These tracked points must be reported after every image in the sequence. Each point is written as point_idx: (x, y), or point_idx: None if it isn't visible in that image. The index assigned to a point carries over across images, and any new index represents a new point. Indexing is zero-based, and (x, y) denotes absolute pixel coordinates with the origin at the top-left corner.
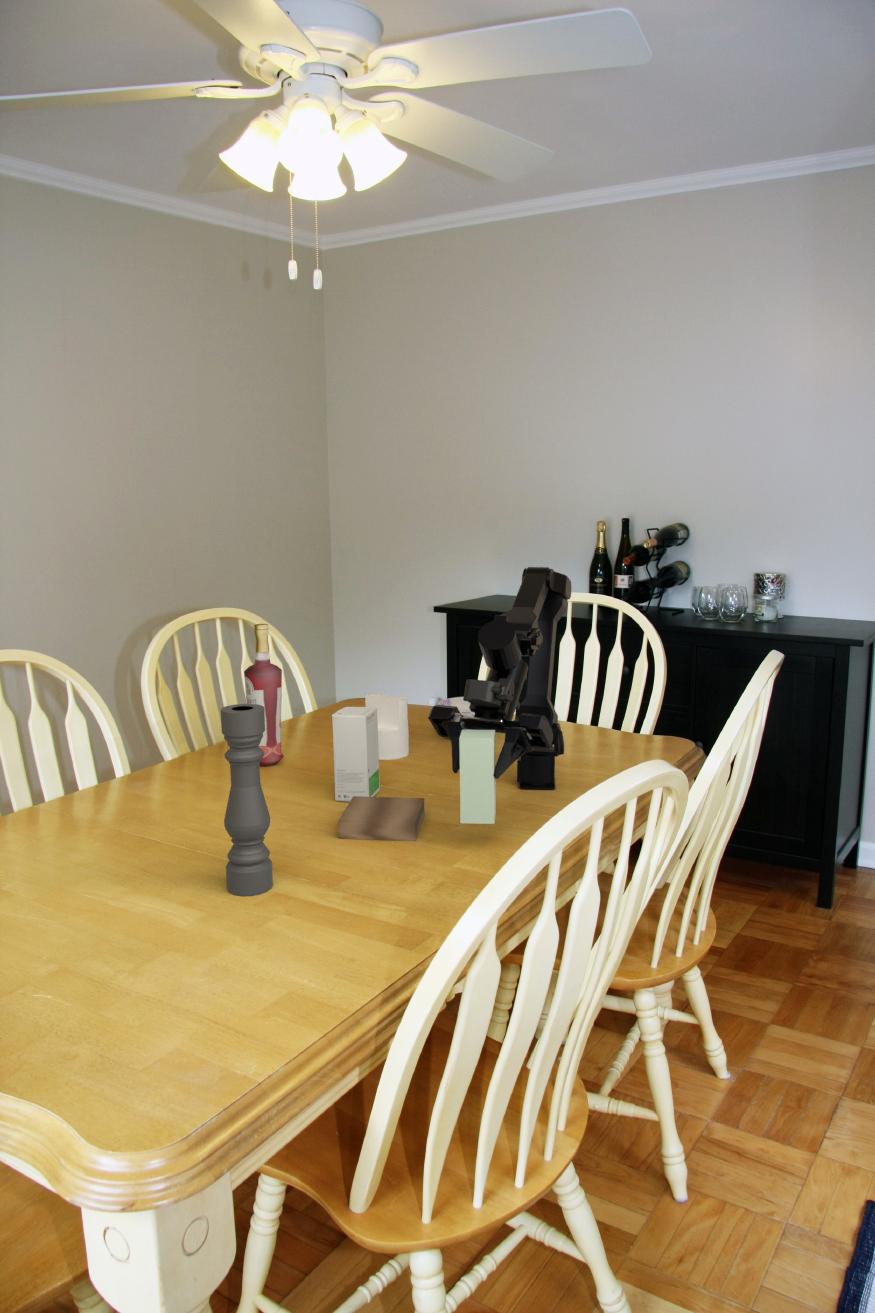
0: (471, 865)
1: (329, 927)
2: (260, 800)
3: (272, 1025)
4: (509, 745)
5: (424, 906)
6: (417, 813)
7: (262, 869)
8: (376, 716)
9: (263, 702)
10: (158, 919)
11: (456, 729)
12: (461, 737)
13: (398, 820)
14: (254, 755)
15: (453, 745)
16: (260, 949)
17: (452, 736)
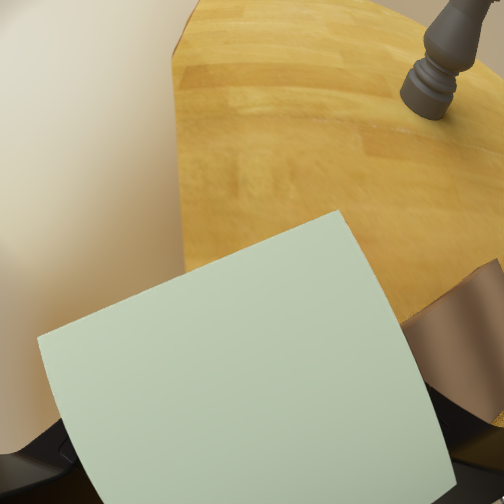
0: None
1: (285, 63)
2: (443, 19)
3: (227, 4)
4: (43, 444)
5: (219, 125)
6: (426, 380)
7: (409, 75)
8: None
9: None
10: (409, 50)
11: (492, 454)
12: (335, 240)
13: (434, 319)
14: None
15: (436, 399)
16: (305, 33)
17: (480, 429)
